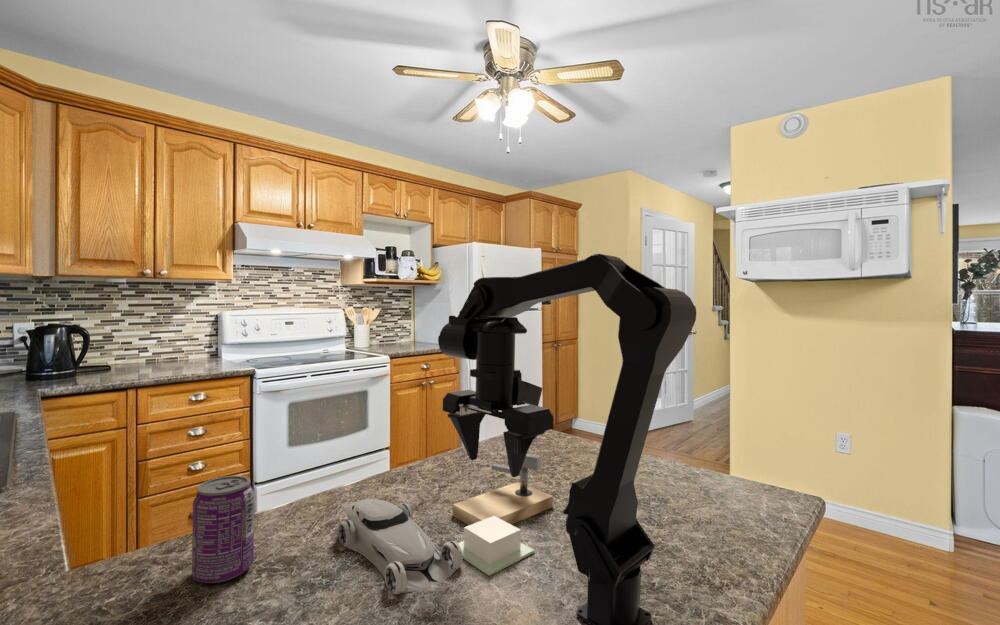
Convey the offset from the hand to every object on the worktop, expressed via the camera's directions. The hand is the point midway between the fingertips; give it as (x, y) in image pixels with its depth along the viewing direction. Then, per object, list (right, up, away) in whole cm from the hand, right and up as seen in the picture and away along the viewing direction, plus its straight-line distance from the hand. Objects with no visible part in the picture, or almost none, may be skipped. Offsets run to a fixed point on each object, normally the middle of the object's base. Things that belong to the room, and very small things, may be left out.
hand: (493, 467), depth 69 cm
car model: (-15, -13, +1) cm, 20 cm away
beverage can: (-36, -12, -7) cm, 39 cm away
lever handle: (+4, -10, +18) cm, 21 cm away
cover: (0, -12, 0) cm, 12 cm away
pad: (0, -13, 0) cm, 12 cm away
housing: (+2, -12, +13) cm, 18 cm away
